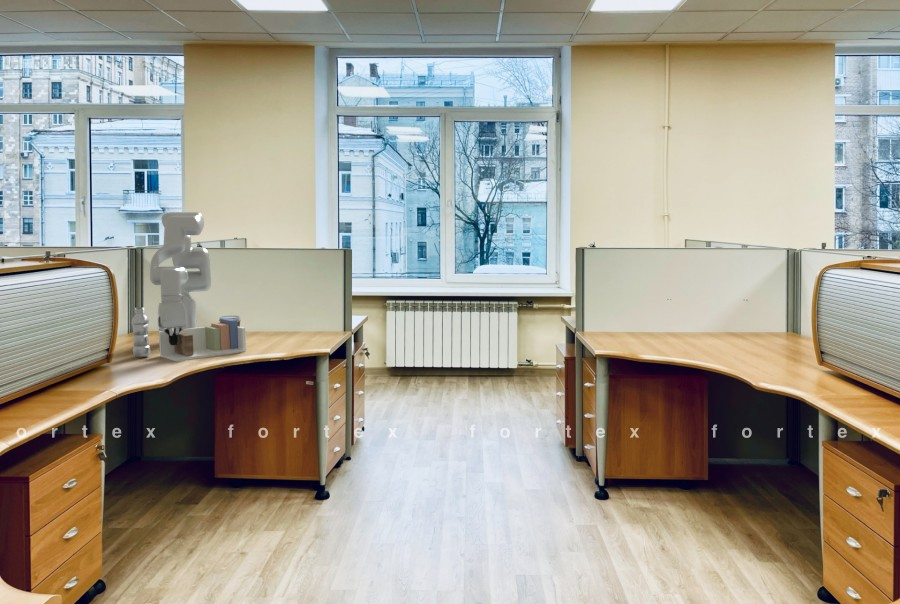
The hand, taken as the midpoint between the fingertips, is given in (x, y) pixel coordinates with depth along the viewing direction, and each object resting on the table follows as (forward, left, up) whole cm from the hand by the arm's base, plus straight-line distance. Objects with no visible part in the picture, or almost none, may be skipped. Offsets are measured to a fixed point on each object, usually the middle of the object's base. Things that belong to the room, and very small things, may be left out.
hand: (173, 344), depth 283 cm
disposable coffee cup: (-16, +32, -6) cm, 36 cm away
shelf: (0, +12, -5) cm, 13 cm away
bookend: (0, +4, -4) cm, 6 cm away
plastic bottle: (-11, -9, -6) cm, 15 cm away
